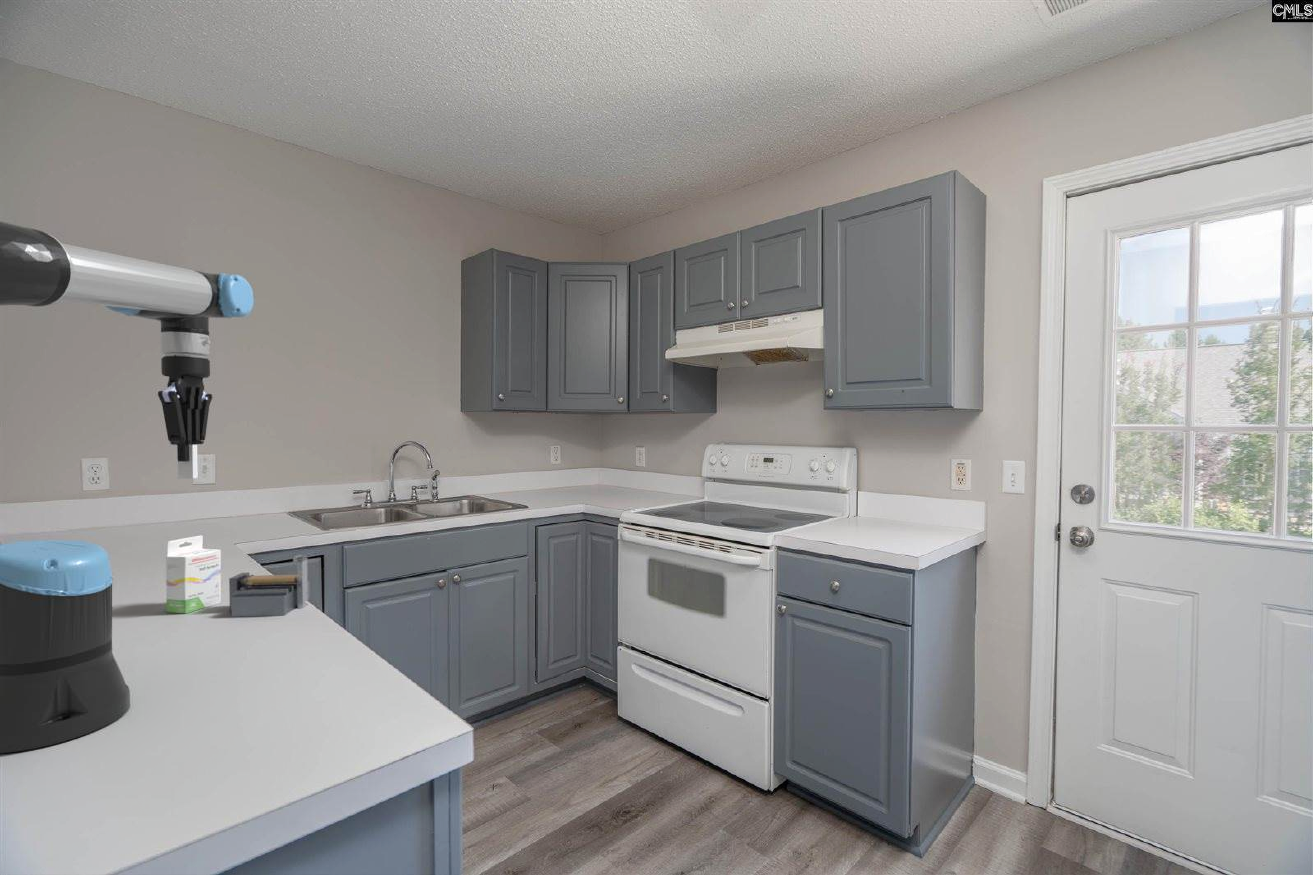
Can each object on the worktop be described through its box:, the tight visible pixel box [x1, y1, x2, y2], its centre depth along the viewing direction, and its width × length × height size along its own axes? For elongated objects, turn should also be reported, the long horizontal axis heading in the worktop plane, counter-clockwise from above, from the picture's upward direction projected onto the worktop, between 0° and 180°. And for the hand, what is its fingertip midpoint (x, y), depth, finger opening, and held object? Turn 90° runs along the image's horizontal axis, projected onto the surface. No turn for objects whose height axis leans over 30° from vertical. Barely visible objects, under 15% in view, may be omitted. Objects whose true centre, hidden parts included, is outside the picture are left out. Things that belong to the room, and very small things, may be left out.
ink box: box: [165, 535, 222, 614], centre depth 132 cm, size 9×5×15 cm, turn 168°
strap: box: [239, 574, 297, 585], centre depth 132 cm, size 4×11×1 cm, turn 97°
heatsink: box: [228, 554, 311, 618], centre depth 132 cm, size 12×14×11 cm
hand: (187, 478), depth 121 cm, fingers closed
